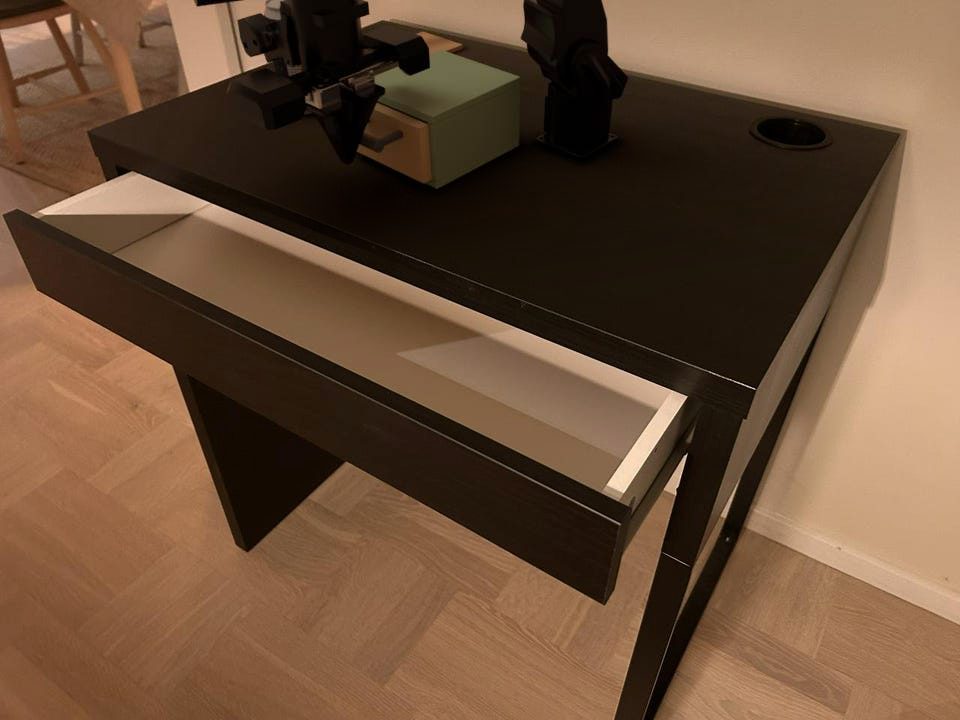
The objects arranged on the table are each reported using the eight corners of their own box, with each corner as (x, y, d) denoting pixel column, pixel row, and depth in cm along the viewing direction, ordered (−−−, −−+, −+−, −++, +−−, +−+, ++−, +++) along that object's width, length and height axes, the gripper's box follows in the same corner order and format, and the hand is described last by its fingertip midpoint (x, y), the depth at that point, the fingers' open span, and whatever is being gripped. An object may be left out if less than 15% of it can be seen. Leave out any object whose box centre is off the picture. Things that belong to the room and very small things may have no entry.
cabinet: (436, 189, 75) (432, 116, 70) (361, 153, 81) (352, 84, 76) (519, 145, 82) (520, 76, 76) (444, 115, 87) (441, 49, 82)
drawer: (394, 198, 72) (389, 142, 68) (327, 164, 77) (318, 110, 73) (501, 143, 80) (501, 90, 76) (433, 115, 85) (430, 65, 81)
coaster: (462, 48, 103) (462, 44, 103) (420, 65, 99) (420, 61, 98) (423, 35, 107) (422, 31, 107) (380, 51, 103) (380, 46, 103)
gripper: (347, -51, 71) (366, 108, 81) (169, -5, 61) (216, 170, 71) (429, -29, 65) (438, 139, 76) (247, 25, 55) (286, 211, 65)
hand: (346, 162), depth 72 cm, fingers closed
